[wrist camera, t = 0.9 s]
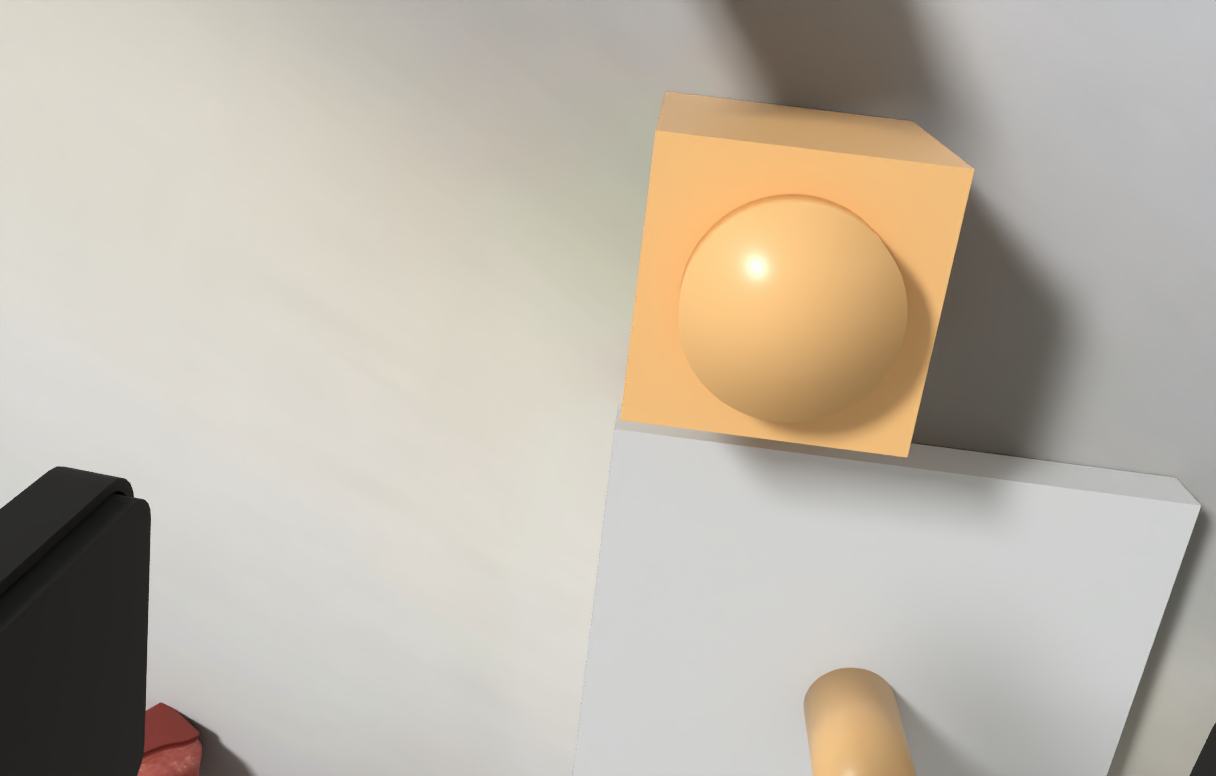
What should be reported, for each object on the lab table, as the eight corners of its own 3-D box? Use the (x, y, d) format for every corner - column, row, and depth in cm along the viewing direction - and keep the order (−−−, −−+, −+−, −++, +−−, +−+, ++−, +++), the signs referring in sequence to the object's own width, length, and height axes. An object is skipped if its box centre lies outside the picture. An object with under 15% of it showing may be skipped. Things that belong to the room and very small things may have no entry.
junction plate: (1175, 477, 27) (1284, 597, 22) (1034, 898, 33) (1096, 1073, 27) (618, 405, 28) (600, 506, 23) (567, 831, 33) (542, 991, 28)
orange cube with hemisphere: (912, 121, 25) (988, 179, 18) (863, 353, 27) (916, 480, 20) (665, 91, 25) (653, 139, 18) (636, 324, 27) (616, 441, 20)
